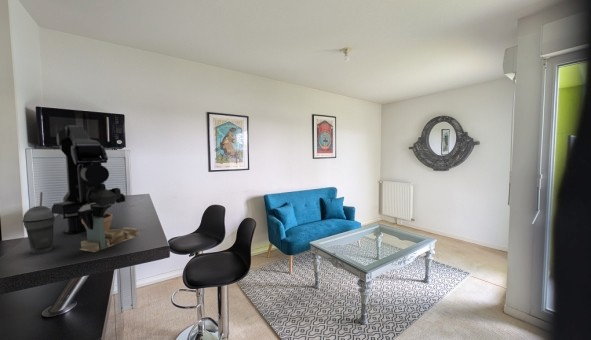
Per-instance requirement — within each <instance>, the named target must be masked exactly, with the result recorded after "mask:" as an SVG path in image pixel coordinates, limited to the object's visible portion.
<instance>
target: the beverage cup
mask: <svg viewBox="0 0 591 340" xmlns="http://www.w3.org/2000/svg"><path fill="white" fill-rule="evenodd" d="M55 216H56V215H55V214H54V213H52V208H50V207H48V206H44V205H43V191H41V192H40V193H39V205H37V206H33V207H31V208H28V210H27V211H25V213H24V215H23V218H22V223H23V226H24V228H25V231H26V234H27V239H28V243H29V246H30V251H31V253H32V254H33V255H37V254H43V253H47V252H50V251H52V250H53V248H54V224H55V218H56V217H55Z"/></svg>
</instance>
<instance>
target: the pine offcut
mask: <svg viewBox="0 0 591 340" xmlns="http://www.w3.org/2000/svg"><path fill="white" fill-rule="evenodd" d="M122 235H124V234H123V230H122V229H118V228H117V229H116V228H113V229H112V228H109V230H106V231H105V238H106V239H114V238H117V237H119V236H122Z"/></svg>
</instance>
